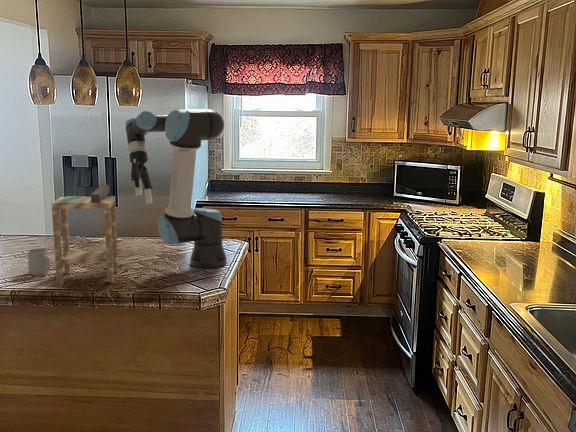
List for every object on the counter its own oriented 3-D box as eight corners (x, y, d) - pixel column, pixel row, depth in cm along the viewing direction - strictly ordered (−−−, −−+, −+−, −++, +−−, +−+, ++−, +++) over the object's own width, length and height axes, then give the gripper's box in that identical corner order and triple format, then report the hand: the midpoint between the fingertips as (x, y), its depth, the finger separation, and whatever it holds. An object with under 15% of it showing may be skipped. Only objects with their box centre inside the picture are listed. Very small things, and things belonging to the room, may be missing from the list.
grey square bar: (109, 192, 235) (108, 184, 235) (100, 202, 210) (99, 194, 209) (101, 192, 235) (101, 185, 234) (91, 202, 210) (90, 194, 209)
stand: (118, 270, 231) (114, 195, 225) (113, 282, 215) (109, 202, 210) (65, 272, 227) (60, 196, 222) (56, 284, 212) (51, 202, 206)
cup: (40, 269, 231) (39, 247, 230) (57, 272, 227) (56, 250, 225) (24, 273, 225) (23, 251, 223) (42, 277, 220) (40, 254, 219)
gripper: (139, 164, 265) (145, 208, 259) (119, 145, 240) (125, 193, 235) (155, 160, 264) (161, 204, 259) (136, 141, 240) (143, 189, 235)
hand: (144, 199), depth 247 cm, fingers open, 13 cm apart
